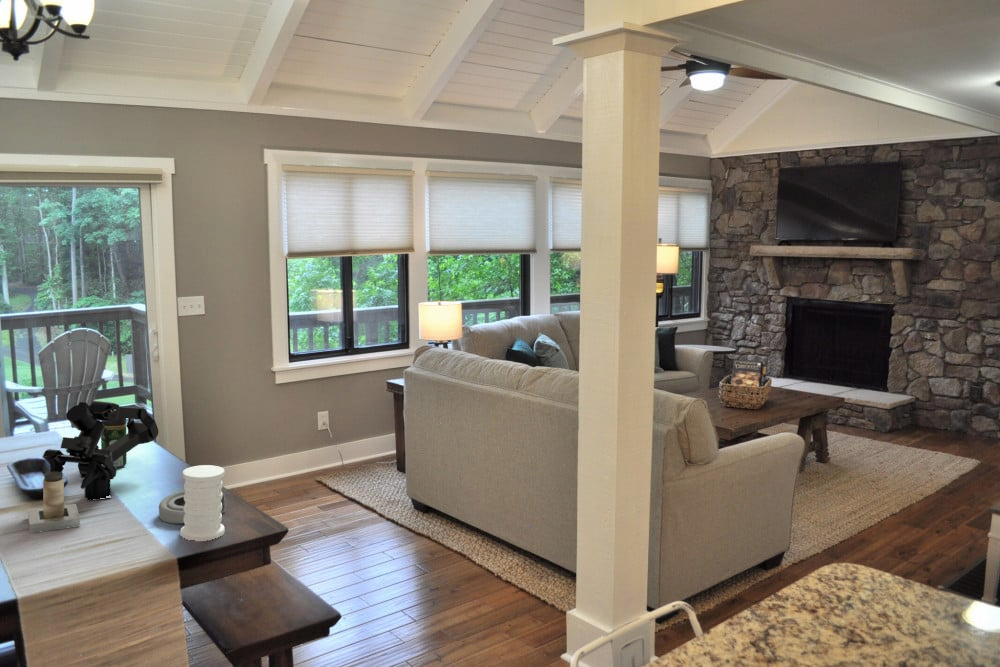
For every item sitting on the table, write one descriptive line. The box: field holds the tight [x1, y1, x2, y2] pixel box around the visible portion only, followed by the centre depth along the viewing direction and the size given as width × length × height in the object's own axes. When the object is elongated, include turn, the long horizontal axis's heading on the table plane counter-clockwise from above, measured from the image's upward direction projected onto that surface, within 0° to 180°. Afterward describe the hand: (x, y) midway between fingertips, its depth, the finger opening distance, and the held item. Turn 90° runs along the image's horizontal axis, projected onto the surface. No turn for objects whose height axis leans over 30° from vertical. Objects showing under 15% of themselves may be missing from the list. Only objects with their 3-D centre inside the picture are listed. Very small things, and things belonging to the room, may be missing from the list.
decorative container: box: [179, 464, 226, 542], centre depth 221 cm, size 12×12×18 cm
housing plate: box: [27, 503, 81, 534], centre depth 223 cm, size 12×12×2 cm
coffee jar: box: [100, 418, 128, 469], centre depth 273 cm, size 10×8×19 cm
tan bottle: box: [42, 471, 65, 519], centre depth 222 cm, size 5×5×14 cm
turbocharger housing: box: [158, 489, 227, 525], centre depth 235 cm, size 17×6×15 cm
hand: (66, 486), depth 227 cm, fingers open, 9 cm apart
